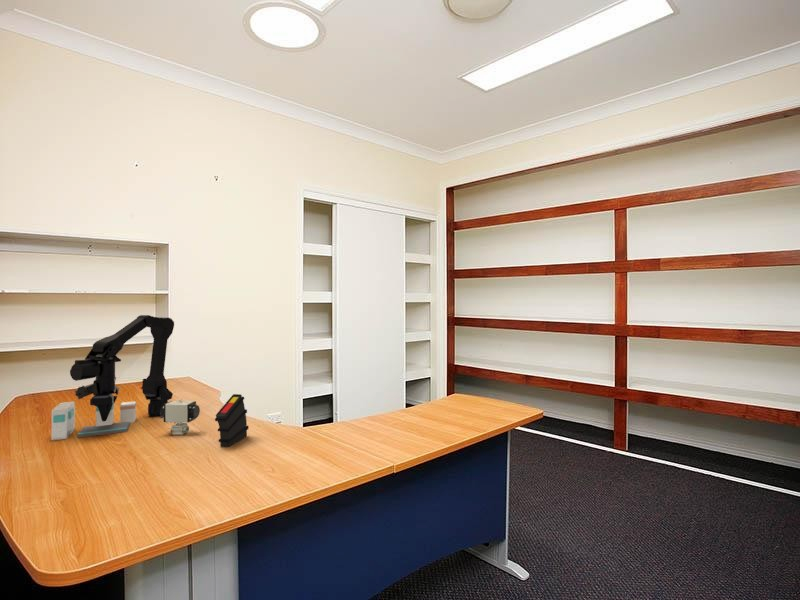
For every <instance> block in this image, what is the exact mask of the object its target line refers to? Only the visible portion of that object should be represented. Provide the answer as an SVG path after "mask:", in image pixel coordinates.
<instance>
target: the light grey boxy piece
mask: <svg viewBox="0 0 800 600" xmlns="http://www.w3.org/2000/svg"><path fill="white" fill-rule="evenodd" d="M119 411H120V412H119V414H120V415H119V416H120V419H119V423H123V422H130V424H131V423H135V422H136V419H137V401H123V402H121V404H120V407H119Z"/></svg>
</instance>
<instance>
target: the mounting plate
mask: <svg viewBox="0 0 800 600" xmlns="http://www.w3.org/2000/svg"><path fill="white" fill-rule="evenodd" d="M130 424H131V423H130V422H123V423H120V422H117V423H114V422H113V423H112V425H103V426H96V424H95V425H89V426H83V427H82V429H81V430H80V431H78V433H77V438H84V437H92V436H103V435H109V434H110V435H111V434H120V433H126V432H127V431H128V430H129V427H130Z"/></svg>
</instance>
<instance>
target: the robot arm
mask: <svg viewBox="0 0 800 600" xmlns="http://www.w3.org/2000/svg"><path fill="white" fill-rule="evenodd" d="M146 328H150V334H151V335H152V338H153V343H152V350H151V360H150V367H149V373H148V374H149V375H148V376H147V377H146V378H142V381H141V382H142V385H141V388H140V389H141V390H142V394H143V395H144V397H145V399H146V400H147V401H149V403H147V415H148V417H150V418H152V417H161V416H160V410H161V408H162V406H163V405H164V404H166V403H168V402H169V400H171V399H172V398H173V392H172V391H171V390H170V389H168V385H167V384H168V383H167V381H168V380H166V377H165V363H166V355H167V346H168V339H169V338H170V337H171V336H172V335H173V332H174V328H175V321H174V320H173V318H171V317H161V316H160V317H159V316H157V317H156V316H152V315H149V314H141V315H138V316H136V318H135V319H133V320H132V321H131V322H129V323H128V324H127V325H125V326H124V327H122V328H121V329H120V330H118V331H117V332H115V333H114V334H111V335H109V336H106V337H105V336H104V337H103V338H100V339H99V340H97V341H95V342H94V343H93V344H92V347H91V349H90V351H89V352H88V353H87V355H86V356H85V358H84V359H75V360H74V363H73V365H71V367H70V370H69V375H70V377H71V379H72V380H73V381H75V382H77V381H82V380H83V381H84V380H87V379H93V378H94V380H93V382H92V383H91V384H87V385H81V386H79V387H77V389H76V390H75V391H74V393H75V394H74V395H75V396H76V397H77V399H78V400H81V399H83V398H85V397H87V396H90V395H92V397H91V398H90V400H89V405H90V406H94V407H95V408H96V407H98V409H99V412H100V415H101V419H102V421H106V420H107V417H108V415H109V413H110V410H111V408H112V406H113V403H114V404H115V403H116V401H117V398H118V395H119V393H120V388H119V387H118V386H116V380H117V377H116V363H117V362H121V361H122V359H121V358H119V357H118V356H117V355H118V354H119V353H120V352H121V350H122V349H123V347H124V345H125V344H126V343H127V342H128V341H130V339H132V338H133V337H135V336H136V335H137V334H139V333H141V331H142V330H144V329H146ZM114 394H115V395H114Z"/></svg>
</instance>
